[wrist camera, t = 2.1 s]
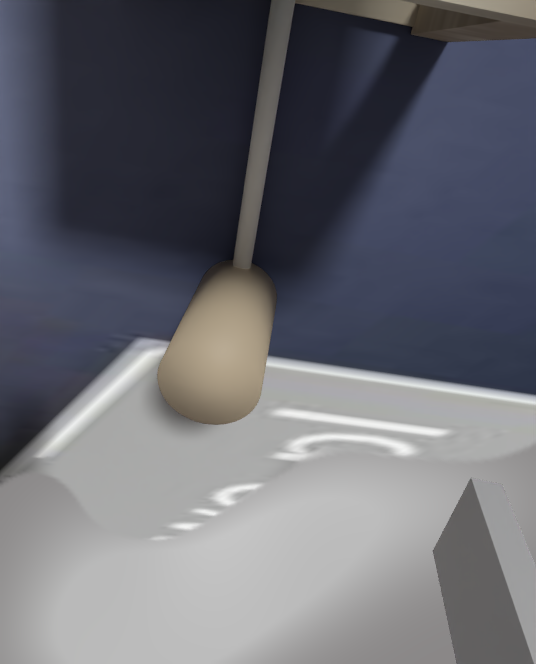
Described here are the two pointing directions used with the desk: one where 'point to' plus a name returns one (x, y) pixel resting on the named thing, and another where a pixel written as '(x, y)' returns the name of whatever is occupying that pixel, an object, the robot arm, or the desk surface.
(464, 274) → the desk surface
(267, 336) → the tan maraca
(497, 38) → the small wooden stool
